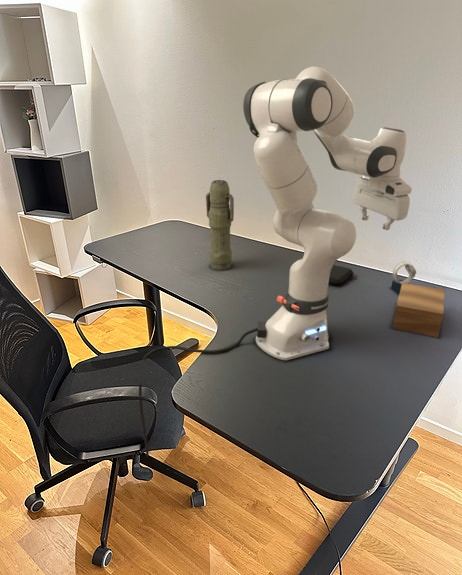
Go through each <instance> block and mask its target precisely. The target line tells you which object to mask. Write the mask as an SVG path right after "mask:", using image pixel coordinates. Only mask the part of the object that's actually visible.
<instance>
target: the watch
mask: <svg viewBox="0 0 462 575" xmlns="http://www.w3.org/2000/svg"><path fill="white" fill-rule="evenodd" d="M402 267H404V268H405V270H406V272H407V273H408V276H407V278H405V279H400V278H399V276H398V272H399V270H400V269H401V268H402ZM416 274H417V270H416V268H415V267H414V265H413V264H412V263H411V262H409V261H408V262H407V261H400V262H398V263H397V264H395V266H394V267H393V270H392V277H393V280H392V281H391V287H390V289H391V290H393V291H394V292H395V293H397V294H398V295H399V294H400V290H401V286H402V283H407V284H410V282H412V281H413V279H414V278H415V277H416Z"/></svg>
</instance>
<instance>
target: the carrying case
mask: <svg viewBox="0 0 462 575" xmlns="http://www.w3.org/2000/svg"><path fill="white" fill-rule="evenodd" d="M354 274H355V273H354V271H353V270H352V268H350V267H345V266H341V265H338V264H334V265H333V266H332V269H331V272H330V277H329V283H328V285H332V286H336V287H338V286H340V285H343V283H345V282H346V281H348V279H350V278H353V277H354Z"/></svg>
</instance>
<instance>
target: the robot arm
mask: <svg viewBox="0 0 462 575" xmlns="http://www.w3.org/2000/svg"><path fill="white" fill-rule="evenodd" d="M242 108H243V109H242V110H243V115H244V119H245V121H246V123H247V125H248V128H249V131H250V133H251V134H252V135H253V136H255V137H256V140H255V141H254V144H253V156H254V159H255V162H256V165H257V168H258V171H259V173H260V176H261V179H262V180H263V182H264V184H265V187H266V188H267V190H268V192H269V194H270V196H271V198H272V200H273V202H274V203H275V205H276V211H275V213H274V216H273V220H272V226H273V230H274V231H275V233H276V234H277V235H279V237H281V238H283V239H284V240H285V241H287V242H288V243H292V244H294V245H297V246H300V247H302V248H303V251H304V252H303V257H302V258H300V259H298V260H295V262H294V263H292V265H291V266H290V268H289V277H288V289H287V291H286V294H285V297H283V296H282V295H277V298H276V302H278V303H280V304H281V306H280V307H279V308H278V309H277V311H275V313H274V314H273V315H272V316H271V317H270V318H269V319H268V320H261V321H260V320H258V321H257V327H255V328H252V329H250V330H247V331H245V332H244V333H243V334H242V335H241V336H240V338H239V339H238V341H236V342H235V343H234V344H232V345H231V346H228V347H224V348H220V349H196V348H189V347H186V346H185V347H184V346H180V345H168V346H160V347H156V348H154V349H152V350H150V351H148V352H147V353H146V354H145V355H144V356H143V358H142V360H143V361H144V360H147V359H148V358H149V357H150V356H151V355H152V354H154V353H156V352H160V351H162V350H163V351H165V350H180V351H185V352H190V353H191V352H192V353H201V354H217V353H221V352H222V353H223V352H228V351H230V350H232V349H235V348H236V347H238V346H239V345H240V344H241V343H242V342H243V340H244V338H245V337H247V336H248V335H250V334H252V333H255V332H257V335H256V336H255V344H256V345H257V346H258V348H260V349H261V350H262V351H263V352H265V353H266V354H267V355H270V356H271V357H273V358H275V359H278V360H281V361H291V360H293V359H297V358H301V357H304V356H309V355H311V354H316V353H318V352H323V351H326V350H328V349H330V342H329V338H330V335H329V330H328V314H327V309H328V307H329V301H330V300H329V291H328V290H329V284H328V283H329V277H330V272H331V269H332V266H333V265H335V263H336V261H337V260H339V259H340V258H342V257H344V256H346V255H347V254H348V253H350V251H351V250H352V249H353V247H354V245H355V244H356V241H357V229H356V226H355V224H354V223H353V222H352V221H351V220H349V219H347V218H346V217H344V216H342V215H340V214H338V213H335V212H331V211H329V210H324V209H321V208H319V207H317V206H316V205H315V204H314V203H313V202H314V200H315V198H316V196H317V193H318V185H317V182H316V180H315V177H314V175H313V173H312V170H311V168H310V166H309V163H308V161H307V159H306V157H305V155H304V152H303V150H302V149H301V148H300V146H299V144H298V137H297V133H298V132H300V131H304V132H310V131H311V132H312V131H313V133H314V134H315V136H316V137H317V139H318V140H319V142H320V143H321V144H322V146H323V147H324V149H325V150H326V152H327V154H328V157H329V161H330V164H331V165H332V167H333V168H334V169H336V170H338V171H344V172H349V173H352V174H356V175H359V176H360V177H358V178H357V182H356V185H355V188H354V192H353V194H352V202H353V203H354V204H356V205H358V206H360V207H359V210H360V214H361V217H360V218H361V220H362V221H368V220H369V216H370V215H369V213H368V211H367V210H370V211H373V212H375V213H377V214H379V215H382V216H385V217H386V220H387V221H386V223H383V225H382V230H385V231H389V230H390V229H391V226H392V224H393V223H394V222H395V221H396V222H398V221H402V220H405V219H406V218H407V217H408V213H409V209H410V202H411V198H410V196H409V195H410V194H411V192H412V186H410V185H409V184H407V182H405V181H404V180H403V179H402V178H401V166H402V163H403V161H404V158H405V153H406V146H407V134H406V132H405V131H404V130H402V129H398V128H392V127H387V126H384V127H381V128H379V130H378V134H377V135H376V137H374V138H373V139H372V140H370V141H369V140H364V139H360V138H355V137H352V136H350V135H346V134H344V133H345V131H346V130H348V128H349V127H350V126H351V124H352V122H353V120H354V116H355V105H354V102H353V100H352V98H351V96H350V95H349V94H348V92H347V90H345V88H344V87H343V86H342V85H341V83H339V81H338V80H337V79H336V78H335V76H333V75H331V73H330V72H328V71H327V70H326V69H324V68H322V67H321V66H315V65H314V66H309V67H306V68H305V69H303V70H302V71H300V72H299V73H298V75H297V76H296V77H295V78H291V79H289V78H282V79H276V80H271V81H268V82H267V81H263V82H259V83H256V84H255V85H253V86H250V88H249V89H248V90H247V91H246V93H245V94H244V98H243V105H242ZM142 388H143V386H142V384H141V382H139V383H138V397H139V396H142V397H143V394H142V393H143V392H142V391H143V389H142ZM138 402H139V403H138V404H139V412H140V421H141V426H142V427H141V428H142V433H143V440H144V441H143V442H144V448H145V457H146V458H148V457H149V456H150V454H149V443H148V437H147V430H146V424H145V417H144V409H143V399H142V400H139V399H138Z"/></svg>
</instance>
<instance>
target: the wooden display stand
mask: <svg viewBox="0 0 462 575" xmlns="http://www.w3.org/2000/svg"><path fill="white" fill-rule="evenodd" d="M445 291H446V290H445V289H443V288H437V287H432V286H425V285H419V284H412V283H409V284H407V283H402V286H401V290H400V294H398V298H397V301H396V306H395V312H394V317H393V322H392V329H394V330H399V331H403V332H408V333H409V332H410V333H414V334H418V335H419V334H420V335H424V336H428V337H434V338H439V335H440V331H441V326H442V322H443V318H444V310H445Z"/></svg>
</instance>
